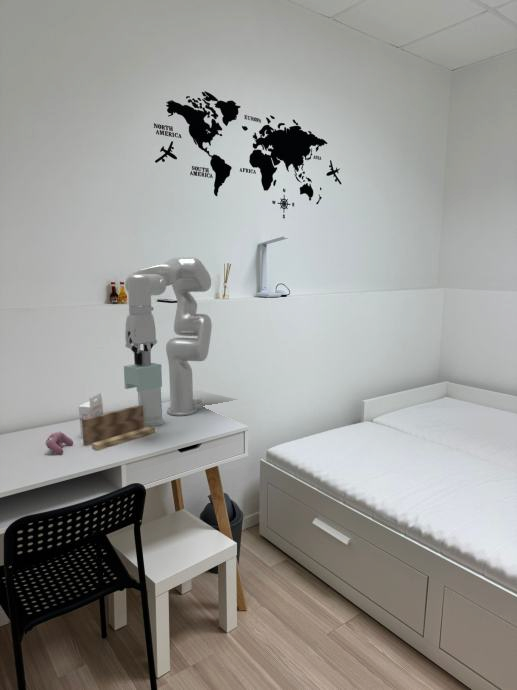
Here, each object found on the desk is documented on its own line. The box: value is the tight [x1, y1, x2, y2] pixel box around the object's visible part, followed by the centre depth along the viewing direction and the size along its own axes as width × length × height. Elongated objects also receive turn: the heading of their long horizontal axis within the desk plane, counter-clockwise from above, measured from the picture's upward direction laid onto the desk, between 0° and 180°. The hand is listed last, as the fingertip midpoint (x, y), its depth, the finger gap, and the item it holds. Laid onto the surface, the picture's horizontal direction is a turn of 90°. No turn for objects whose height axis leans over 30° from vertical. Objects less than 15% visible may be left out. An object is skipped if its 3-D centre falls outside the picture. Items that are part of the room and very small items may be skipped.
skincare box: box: [137, 387, 164, 428], centre depth 194 cm, size 8×7×16 cm
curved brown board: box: [82, 405, 156, 451], centre depth 178 cm, size 24×9×9 cm, turn 138°
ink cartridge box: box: [78, 392, 104, 438], centre depth 183 cm, size 9×5×15 cm, turn 168°
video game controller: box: [45, 431, 74, 455], centre depth 168 cm, size 10×5×7 cm, turn 179°
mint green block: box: [123, 349, 163, 393], centre depth 175 cm, size 10×8×13 cm
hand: (142, 363), depth 175 cm, fingers closed on mint green block, 2 cm apart
